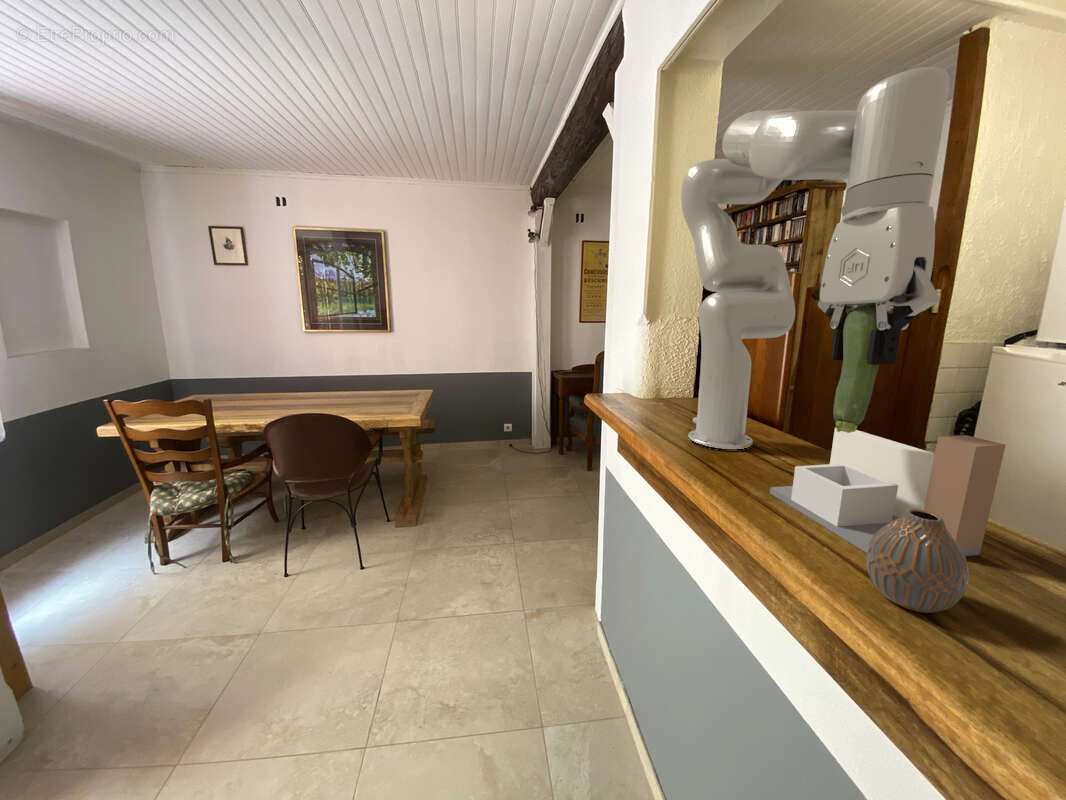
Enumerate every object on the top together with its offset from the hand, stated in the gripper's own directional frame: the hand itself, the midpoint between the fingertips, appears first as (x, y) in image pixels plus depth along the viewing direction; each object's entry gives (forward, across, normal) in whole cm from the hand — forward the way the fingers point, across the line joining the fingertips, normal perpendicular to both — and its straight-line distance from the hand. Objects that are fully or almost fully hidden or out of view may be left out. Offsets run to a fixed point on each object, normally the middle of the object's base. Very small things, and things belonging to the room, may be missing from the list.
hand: (861, 360), depth 49 cm
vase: (+21, +15, -7) cm, 27 cm away
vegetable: (+10, 0, 0) cm, 10 cm away
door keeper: (+21, +1, +2) cm, 21 cm away
